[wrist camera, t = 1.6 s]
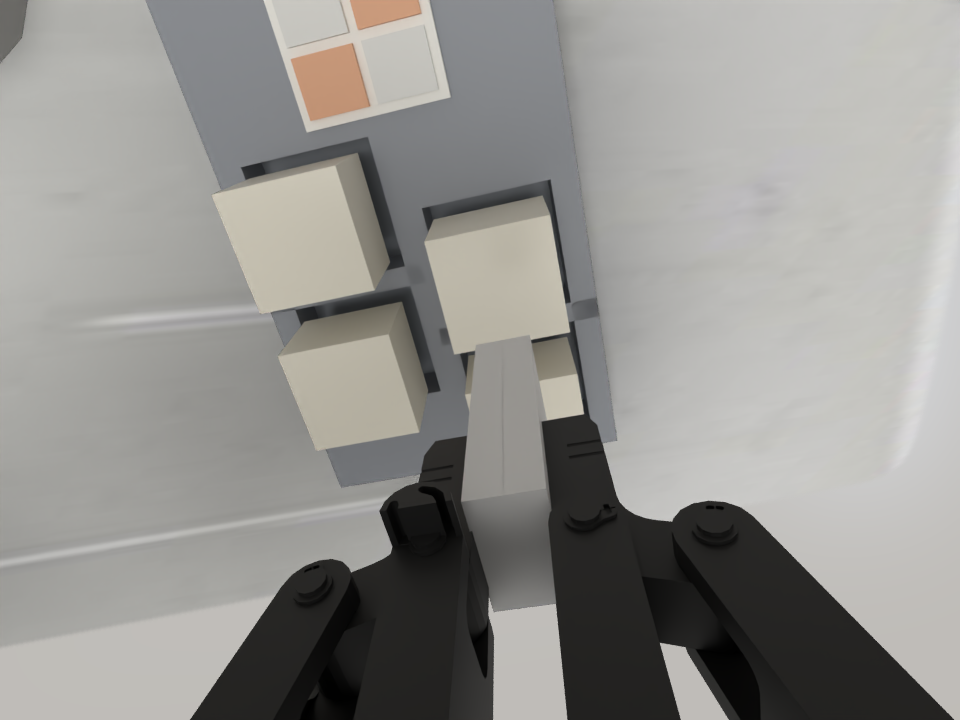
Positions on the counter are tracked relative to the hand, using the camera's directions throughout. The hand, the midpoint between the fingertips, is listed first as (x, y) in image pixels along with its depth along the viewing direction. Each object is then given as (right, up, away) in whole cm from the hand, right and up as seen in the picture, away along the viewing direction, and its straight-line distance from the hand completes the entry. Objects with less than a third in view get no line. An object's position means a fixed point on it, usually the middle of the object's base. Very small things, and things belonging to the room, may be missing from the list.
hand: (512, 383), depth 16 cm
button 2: (-7, +1, +13) cm, 15 cm away
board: (-4, +8, +15) cm, 17 cm away
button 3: (0, +5, +11) cm, 12 cm away
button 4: (-8, +7, +10) cm, 15 cm away
